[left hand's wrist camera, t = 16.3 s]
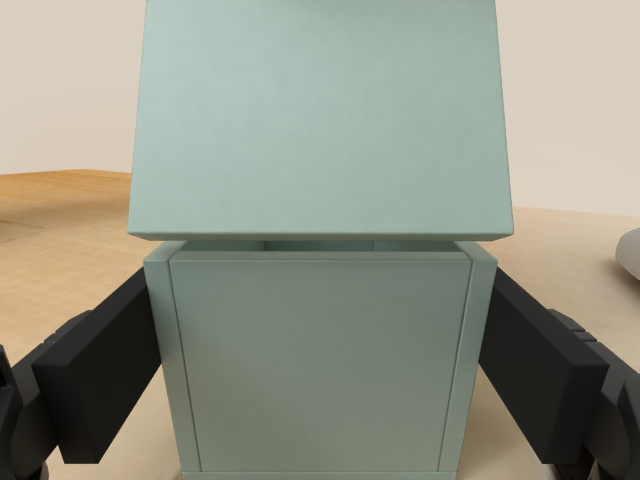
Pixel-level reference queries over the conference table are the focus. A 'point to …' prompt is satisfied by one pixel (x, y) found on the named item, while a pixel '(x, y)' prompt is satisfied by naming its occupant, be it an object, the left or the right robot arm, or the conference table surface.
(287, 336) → the chest
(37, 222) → the conference table surface
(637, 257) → the projector
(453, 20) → the lid
